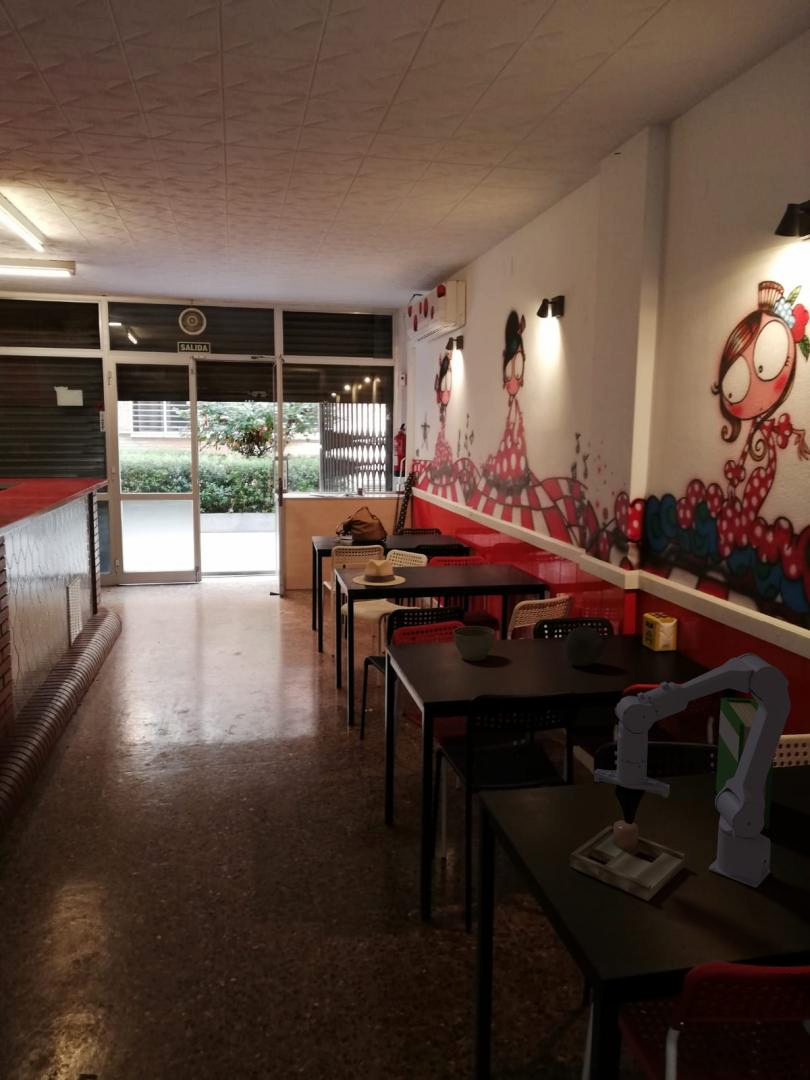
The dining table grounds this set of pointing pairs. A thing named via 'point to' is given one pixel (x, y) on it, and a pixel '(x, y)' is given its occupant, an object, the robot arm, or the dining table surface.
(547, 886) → the dining table surface
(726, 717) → the hardback book
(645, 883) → the wooden frame
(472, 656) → the planter bowl
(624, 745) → the robot arm
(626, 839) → the brown rounded lump
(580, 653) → the cantaloupe
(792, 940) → the dining table surface
